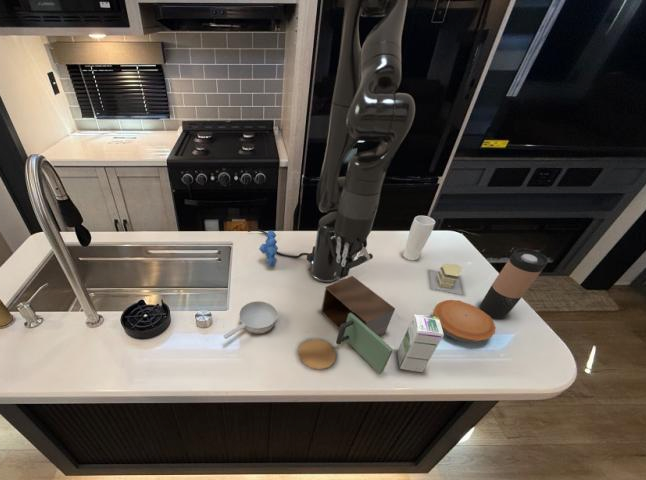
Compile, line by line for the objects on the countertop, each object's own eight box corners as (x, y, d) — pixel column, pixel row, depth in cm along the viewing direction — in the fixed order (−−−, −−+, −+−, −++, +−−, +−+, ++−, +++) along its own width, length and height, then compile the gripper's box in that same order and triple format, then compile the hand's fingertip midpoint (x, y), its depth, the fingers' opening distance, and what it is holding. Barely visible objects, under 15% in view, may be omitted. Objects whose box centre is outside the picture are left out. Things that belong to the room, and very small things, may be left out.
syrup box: (423, 373, 79) (446, 334, 69) (398, 369, 80) (418, 330, 70) (419, 355, 83) (440, 316, 73) (395, 351, 84) (413, 313, 74)
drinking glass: (410, 264, 113) (426, 226, 103) (396, 254, 117) (409, 218, 107) (424, 259, 115) (440, 222, 105) (409, 250, 120) (423, 213, 109)
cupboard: (320, 312, 95) (325, 286, 88) (345, 300, 99) (352, 275, 92) (358, 348, 85) (367, 322, 78) (384, 333, 88) (395, 308, 82)
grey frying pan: (284, 322, 92) (285, 313, 89) (238, 357, 82) (238, 348, 80) (258, 304, 97) (258, 295, 95) (212, 335, 88) (211, 326, 85)
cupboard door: (330, 342, 85) (336, 319, 79) (344, 335, 87) (351, 312, 81) (368, 380, 76) (378, 358, 70) (383, 372, 78) (393, 349, 72)
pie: (480, 358, 82) (489, 346, 79) (420, 328, 90) (427, 316, 86) (495, 326, 90) (504, 314, 87) (440, 301, 98) (446, 289, 95)
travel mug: (507, 308, 96) (548, 253, 82) (506, 323, 91) (549, 268, 78) (479, 299, 99) (514, 245, 85) (476, 313, 94) (513, 258, 81)
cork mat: (291, 349, 84) (291, 348, 84) (319, 335, 88) (319, 334, 88) (313, 375, 78) (314, 374, 78) (343, 359, 82) (343, 358, 82)
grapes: (258, 253, 118) (258, 224, 110) (276, 252, 118) (277, 224, 110) (259, 272, 110) (259, 242, 102) (278, 271, 110) (280, 242, 102)
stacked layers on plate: (461, 294, 101) (469, 281, 97) (431, 288, 103) (438, 275, 99) (457, 276, 108) (465, 263, 104) (429, 271, 110) (435, 258, 106)
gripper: (395, 218, 61) (372, 286, 73) (348, 192, 69) (335, 257, 81) (366, 228, 58) (347, 297, 70) (321, 200, 66) (311, 265, 78)
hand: (340, 275), depth 75 cm, fingers closed
